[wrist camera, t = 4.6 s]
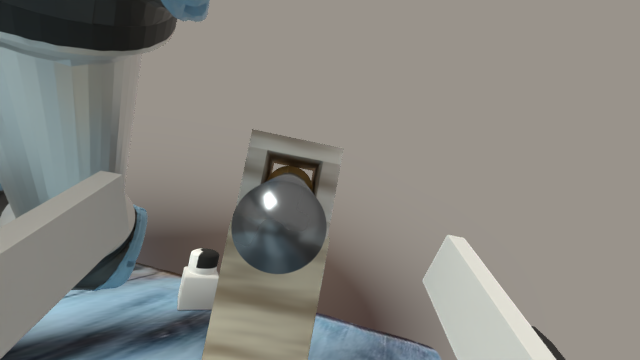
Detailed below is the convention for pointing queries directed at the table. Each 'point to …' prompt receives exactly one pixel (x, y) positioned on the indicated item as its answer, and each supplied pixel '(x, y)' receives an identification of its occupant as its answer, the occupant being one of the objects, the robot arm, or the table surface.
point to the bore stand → (264, 288)
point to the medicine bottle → (199, 281)
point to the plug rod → (279, 223)
